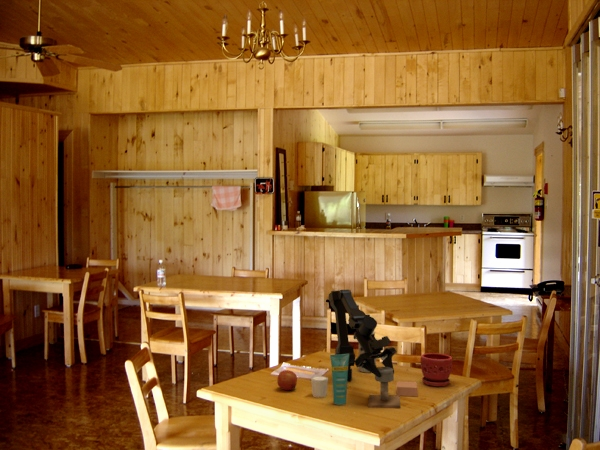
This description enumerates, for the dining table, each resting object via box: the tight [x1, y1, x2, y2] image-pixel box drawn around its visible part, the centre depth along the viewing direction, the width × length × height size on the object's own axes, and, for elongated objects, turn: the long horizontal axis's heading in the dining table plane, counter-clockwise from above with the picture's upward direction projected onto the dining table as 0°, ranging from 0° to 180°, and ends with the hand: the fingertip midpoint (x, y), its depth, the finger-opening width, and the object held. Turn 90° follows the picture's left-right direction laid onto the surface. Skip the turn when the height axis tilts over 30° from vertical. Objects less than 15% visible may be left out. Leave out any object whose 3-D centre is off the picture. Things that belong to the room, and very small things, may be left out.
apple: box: [277, 369, 298, 391], centre depth 251 cm, size 8×8×8 cm
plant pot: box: [420, 352, 453, 387], centre depth 257 cm, size 13×13×12 cm
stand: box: [396, 380, 418, 397], centre depth 245 cm, size 8×8×4 cm
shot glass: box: [310, 375, 329, 398], centre depth 243 cm, size 7×7×7 cm
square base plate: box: [368, 382, 401, 409], centre depth 233 cm, size 12×12×8 cm
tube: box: [329, 354, 349, 406], centre depth 232 cm, size 7×5×19 cm, turn 103°
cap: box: [374, 366, 395, 383], centre depth 233 cm, size 7×7×4 cm
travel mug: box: [358, 331, 377, 373], centre depth 278 cm, size 8×8×18 cm
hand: (387, 375), depth 232 cm, fingers closed on cap, 7 cm apart
